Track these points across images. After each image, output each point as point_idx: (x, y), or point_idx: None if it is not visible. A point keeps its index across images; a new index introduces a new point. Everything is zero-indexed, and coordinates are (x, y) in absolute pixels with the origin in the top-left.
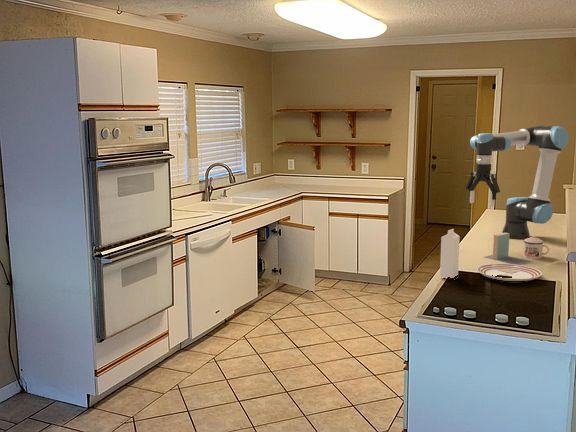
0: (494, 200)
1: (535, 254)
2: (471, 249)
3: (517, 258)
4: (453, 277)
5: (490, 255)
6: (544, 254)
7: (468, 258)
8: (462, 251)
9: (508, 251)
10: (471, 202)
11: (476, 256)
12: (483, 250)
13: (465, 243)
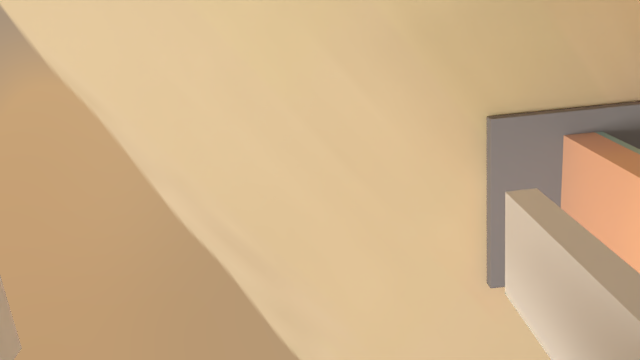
0: (591, 241)
1: None
2: (242, 151)
3: None
4: None
5: (495, 212)
6: None
7: (425, 352)
8: (256, 254)
9: (624, 142)
10: (11, 338)
11: (419, 274)
12: (319, 94)
13: (38, 28)
